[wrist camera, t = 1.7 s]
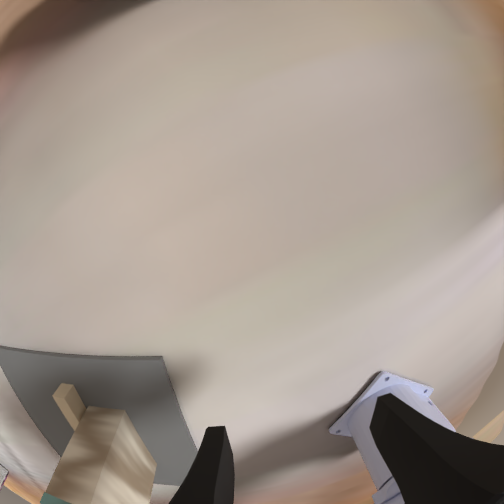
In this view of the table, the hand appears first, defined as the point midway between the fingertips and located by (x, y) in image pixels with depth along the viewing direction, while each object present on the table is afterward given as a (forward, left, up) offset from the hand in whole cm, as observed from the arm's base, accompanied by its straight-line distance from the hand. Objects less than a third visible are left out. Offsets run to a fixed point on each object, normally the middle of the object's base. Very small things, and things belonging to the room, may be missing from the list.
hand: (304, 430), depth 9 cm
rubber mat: (+8, +20, -9) cm, 24 cm away
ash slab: (+5, +18, -9) cm, 21 cm away
